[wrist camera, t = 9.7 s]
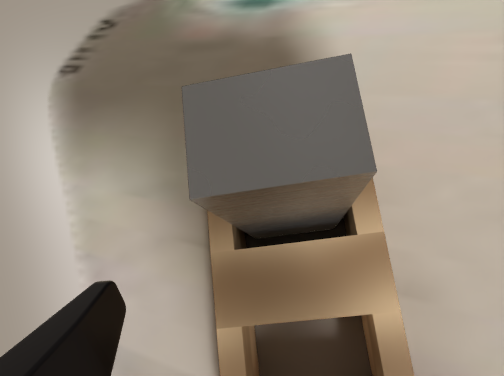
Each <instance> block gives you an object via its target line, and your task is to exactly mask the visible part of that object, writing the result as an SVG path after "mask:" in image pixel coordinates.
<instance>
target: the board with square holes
mask: <svg viewBox="0 0 504 376" xmlns="http://www.w3.org/2000/svg"><path fill="white" fill-rule="evenodd" d="M207 215H208V228H209V240H210V253H211V266H212V279H213V292H214V305H215V318H216V330H217V343H218V356H219V369H220V376H260V374H259V364H258V355H257V345H256V335H255V326H254V325H263V324H274V323H285V322H295V321H306V320H316V319H327V318H337V317H348V316H358V315H361V317H362V322H363V328H364V333H365V339H366V345H367V350H368V356H369V361H370V367H371V372H372V376H414V372H413V368H412V363H411V358H410V353H409V349H408V344H407V339H406V334H405V329H404V325H403V320H402V315H401V310H400V306H399V301H398V296H397V291H396V287H395V282H394V277H393V272H392V268H391V263H390V258H389V253H388V248H387V244H386V239H385V234H384V229H383V225H382V220H381V215H380V210H379V206H378V201H377V196H376V191H375V186H374V182H373V177H372V179H371V180H370V182H369V183H368V184H367V186H366V187H365V188H364V190H363V191H362V192H361V194H360V195H359V196H358V198H357V199H356V200H355V202H354V203H353V204H352V206H351V207H350V208H349V210H348V211H347V212H346V214H345V215H344V216H343V218H344V223H345V229H346V234H347V236H344V237H336V238H328V239H320V240H312V241H304V242H296V243H288V244H280V245H272V246H263V247H255V248H247V249H246V240H245V232H244V231H242V230H240V229H239V228H237V227H235V226H234V225H232V224H230V223H228V222H227V221H225V220H223V219H222V218H220V217H218V216H217V215H215V214H213V213H212V212H210V211H208V210H207Z"/></svg>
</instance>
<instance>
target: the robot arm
mask: <svg viewBox="0 0 504 376" xmlns="http://www.w3.org/2000/svg"><path fill="white" fill-rule="evenodd" d="M125 313H126V306H125V302H124V300H123V298H122V296H121V294H120V292H119V290H118V288H117V286H116V284H115V283H114V282H113V281H99V282H95V283H94V284H92V285H91V286H90V287H88V288H87V289H86V290H85V291H83V292H82V293H81V294H80V295H78V296H77V297H76V298H75V299H73V300H72V301H71V302H70V303H68V304H67V305H66V306H65V307H63V308H62V309H61V310H59V311H58V312H57V313H56V314H54V315H53V316H52V317H51V318H49V319H48V320H47V321H46V322H44V323H43V324H42V325H41V326H39V327H38V328H37V329H36V330H34V331H33V332H32V333H31V334H29V335H28V336H27V337H26V338H24V339H23V340H22V341H21V342H19V343H18V344H17V345H15V346H14V347H13V348H12V349H10V350H9V351H8V352H7V353H5V354H4V355H3V356H2V357H0V376H111V373H112V369H113V365H114V361H115V356H116V352H117V348H118V344H119V339H120V335H121V331H122V327H123V322H124V318H125Z"/></svg>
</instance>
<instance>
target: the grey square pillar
mask: <svg viewBox="0 0 504 376" xmlns="http://www.w3.org/2000/svg"><path fill="white" fill-rule="evenodd" d="M182 97H183V112H184V126H185V141H186V155H187V169H188V184H189V198H190V200H191V201H193V202H195V203H196V204H198V205H200V206H201V207H203V208H205V209H206V210H208V211H210V212H212V213H213V214H215V215H217V216H218V217H220V218H222V219H223V220H225V221H227V222H228V223H230V224H232V225H234V226H235V227H237V228H239V229H240V230H242V231H244V232H245V233H247V234H249V235H250V236H252V237H254V238H255V239H261V238H268V237H276V236H283V235H291V234H298V233H306V232H314V231H321V230H329V229H334V228H335V227H336V226H337V224H338V223H339V222H340V220H341V219H342V218H343V216H344V215H345V214H346V212H347V211H348V210H349V208H350V207H351V206H352V204H353V203H354V202H355V200H356V199H357V198H358V196H359V195H360V194H361V192H362V191H363V190H364V188H365V187H366V186H367V184H368V183H369V182H370V180H371V179H372V177H373V176H374V175H375V173H376V172H377V169H376V164H375V160H374V155H373V151H372V146H371V141H370V137H369V132H368V128H367V123H366V119H365V114H364V110H363V105H362V100H361V96H360V91H359V87H358V82H357V78H356V73H355V68H354V64H353V59H352V55H351V54H346V55H341V56H336V57H331V58H326V59H321V60H315V61H310V62H305V63H300V64H295V65H290V66H284V67H279V68H274V69H269V70H264V71H259V72H253V73H248V74H243V75H238V76H233V77H228V78H223V79H217V80H212V81H207V82H202V83H197V84H192V85H186V86H182Z"/></svg>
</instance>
